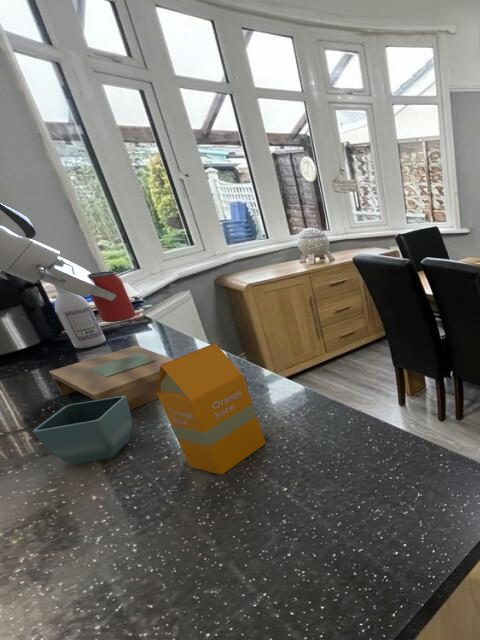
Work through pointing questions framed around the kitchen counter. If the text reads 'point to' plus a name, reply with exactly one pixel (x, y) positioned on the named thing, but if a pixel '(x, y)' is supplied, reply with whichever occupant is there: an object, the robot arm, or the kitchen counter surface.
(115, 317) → the beer can
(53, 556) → the kitchen counter surface
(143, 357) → the wooden slab
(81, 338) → the bath foam
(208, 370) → the orange juice
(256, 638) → the kitchen counter surface
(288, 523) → the kitchen counter surface
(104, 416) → the flower pot
